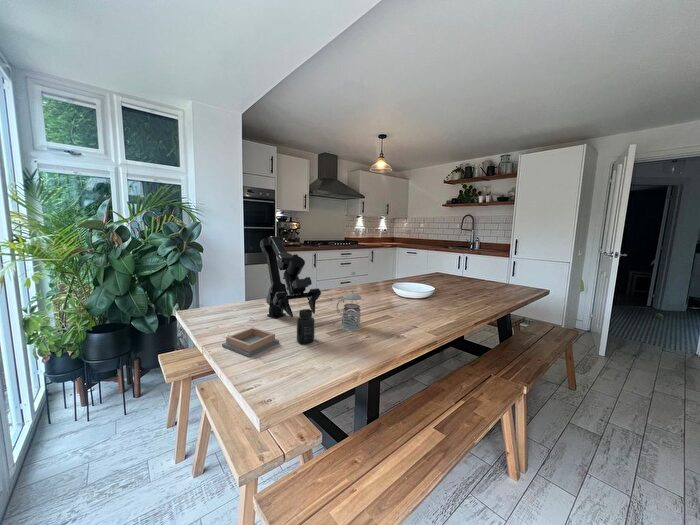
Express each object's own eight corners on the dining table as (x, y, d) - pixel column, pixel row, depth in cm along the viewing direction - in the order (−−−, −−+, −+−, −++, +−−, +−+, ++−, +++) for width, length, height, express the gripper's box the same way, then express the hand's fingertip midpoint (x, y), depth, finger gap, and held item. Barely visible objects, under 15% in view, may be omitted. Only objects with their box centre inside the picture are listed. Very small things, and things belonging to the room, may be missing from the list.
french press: (360, 332, 120) (362, 274, 117) (333, 329, 122) (335, 272, 119) (363, 324, 130) (366, 270, 126) (339, 321, 132) (340, 268, 129)
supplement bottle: (316, 338, 112) (316, 308, 111) (312, 345, 106) (312, 314, 104) (299, 336, 113) (299, 307, 111) (294, 343, 106) (294, 313, 105)
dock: (253, 334, 114) (253, 325, 113) (278, 342, 107) (278, 333, 106) (222, 346, 102) (221, 337, 101) (248, 357, 95) (248, 347, 94)
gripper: (275, 271, 107) (285, 308, 99) (319, 269, 117) (332, 301, 109) (268, 288, 114) (278, 322, 107) (311, 284, 125) (322, 315, 117)
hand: (303, 315), depth 110 cm, fingers open, 9 cm apart
